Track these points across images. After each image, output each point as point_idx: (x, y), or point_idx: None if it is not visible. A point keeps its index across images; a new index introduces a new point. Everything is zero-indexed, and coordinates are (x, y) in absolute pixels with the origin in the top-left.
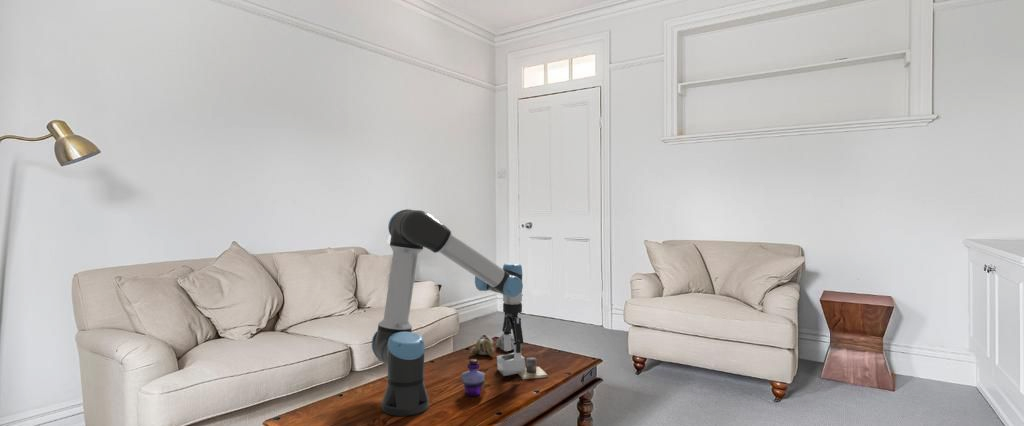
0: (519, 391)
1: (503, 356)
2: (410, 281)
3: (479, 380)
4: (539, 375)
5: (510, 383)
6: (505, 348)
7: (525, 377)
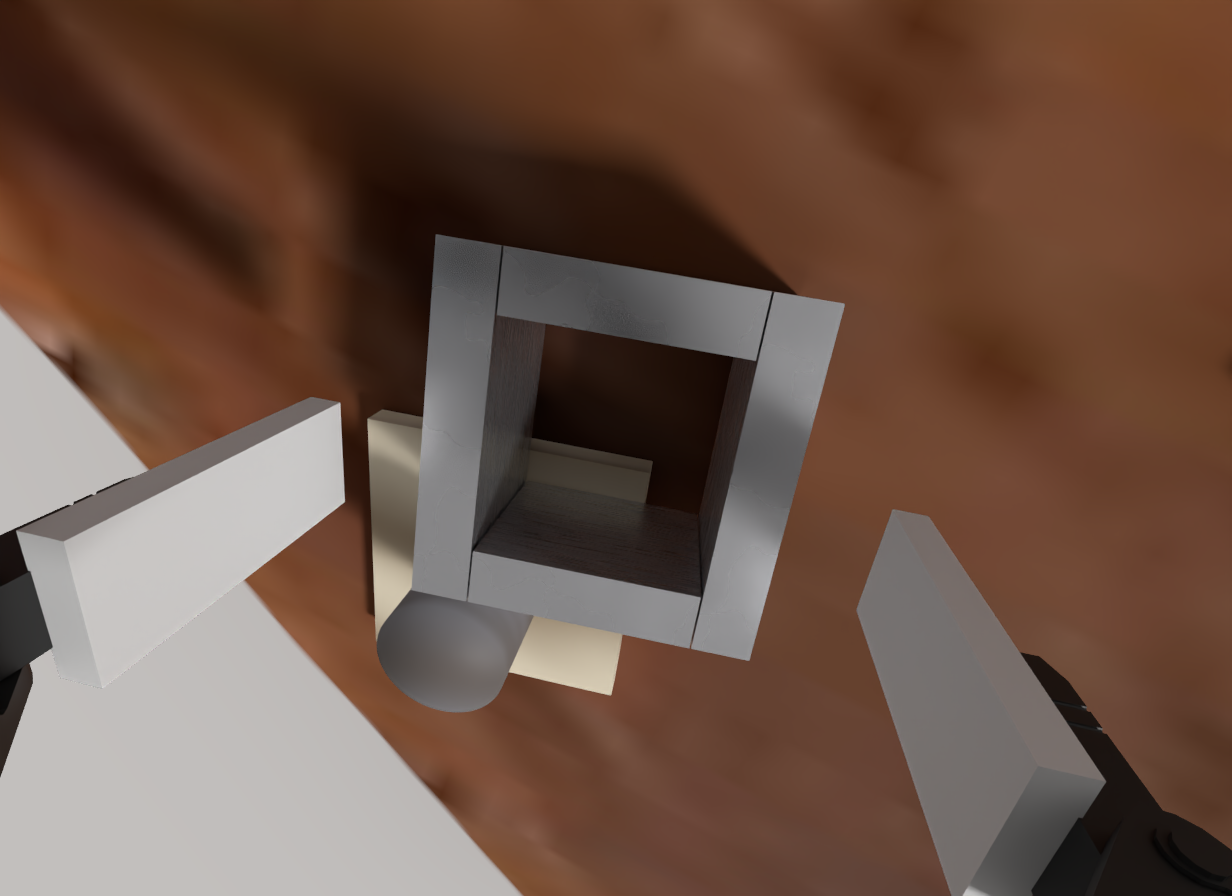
0: (61, 205)
1: (748, 403)
2: None
3: None
4: (374, 573)
5: (289, 221)
6: (899, 550)
7: (373, 438)
